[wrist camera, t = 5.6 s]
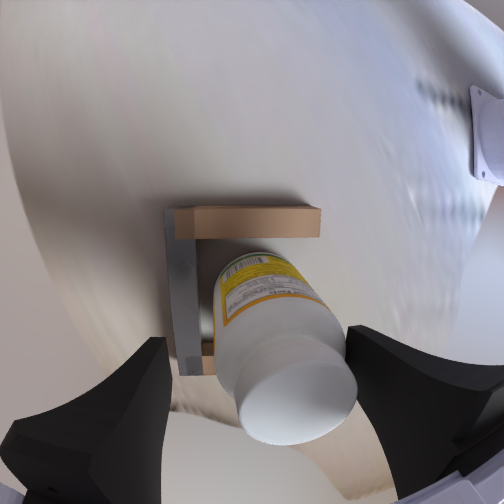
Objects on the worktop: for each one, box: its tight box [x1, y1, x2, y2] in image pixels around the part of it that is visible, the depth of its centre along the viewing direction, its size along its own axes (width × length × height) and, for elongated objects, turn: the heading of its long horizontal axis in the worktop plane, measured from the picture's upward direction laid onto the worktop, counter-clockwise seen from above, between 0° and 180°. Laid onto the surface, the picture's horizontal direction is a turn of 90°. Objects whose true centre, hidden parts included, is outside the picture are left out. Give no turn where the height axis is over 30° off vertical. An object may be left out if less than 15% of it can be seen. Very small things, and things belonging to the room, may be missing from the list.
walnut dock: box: [164, 205, 321, 376], centre depth 16 cm, size 8×10×2 cm
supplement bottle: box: [213, 252, 358, 445], centre depth 13 cm, size 5×5×10 cm
